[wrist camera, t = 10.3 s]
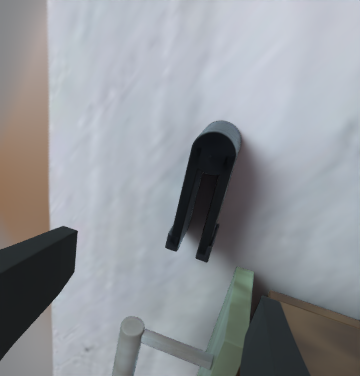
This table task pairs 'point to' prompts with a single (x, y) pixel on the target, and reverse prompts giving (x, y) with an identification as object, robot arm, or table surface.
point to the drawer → (236, 329)
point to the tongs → (198, 163)
